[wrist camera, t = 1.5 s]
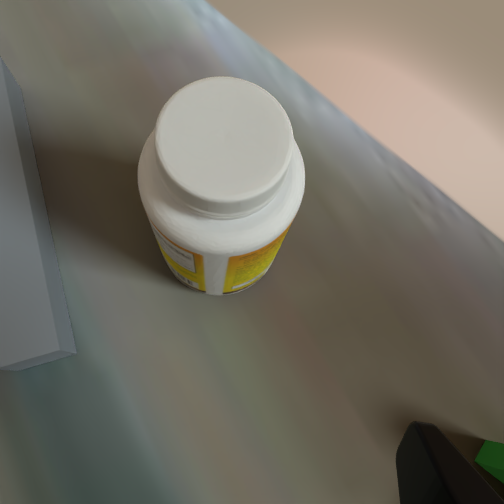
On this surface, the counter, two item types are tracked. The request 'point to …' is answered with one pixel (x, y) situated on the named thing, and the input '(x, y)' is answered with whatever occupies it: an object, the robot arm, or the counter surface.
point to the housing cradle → (26, 248)
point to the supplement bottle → (221, 183)
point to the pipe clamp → (492, 459)
